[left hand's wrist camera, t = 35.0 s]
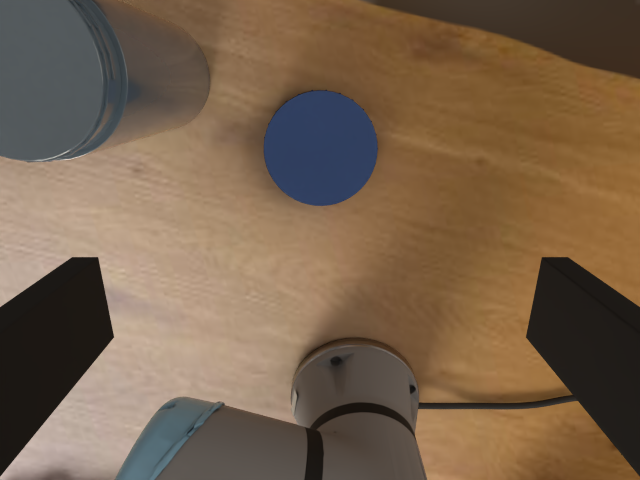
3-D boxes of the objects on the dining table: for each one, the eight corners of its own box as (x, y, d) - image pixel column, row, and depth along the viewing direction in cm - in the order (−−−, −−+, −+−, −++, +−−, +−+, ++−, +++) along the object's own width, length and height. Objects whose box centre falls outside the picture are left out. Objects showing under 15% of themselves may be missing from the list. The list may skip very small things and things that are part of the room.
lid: (382, 95, 40) (386, 96, 37) (367, 205, 43) (369, 211, 41) (269, 83, 39) (266, 83, 37) (263, 195, 43) (260, 201, 41)
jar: (225, 112, 40) (142, 136, 21) (133, 142, 41) (-24, 189, 22) (185, 3, 37) (47, -82, 18) (86, 37, 38) (-142, -9, 19)
